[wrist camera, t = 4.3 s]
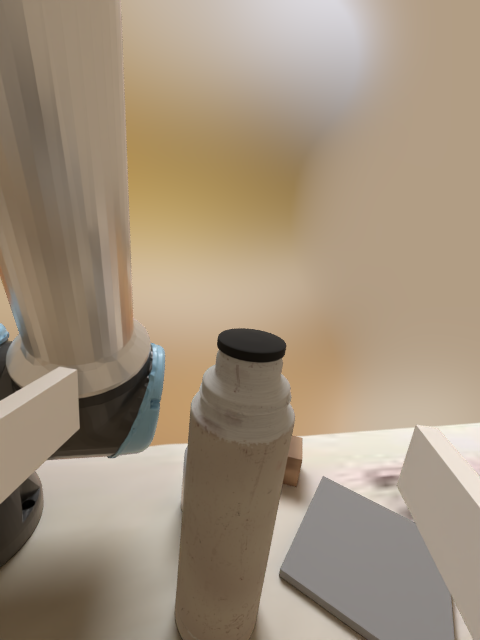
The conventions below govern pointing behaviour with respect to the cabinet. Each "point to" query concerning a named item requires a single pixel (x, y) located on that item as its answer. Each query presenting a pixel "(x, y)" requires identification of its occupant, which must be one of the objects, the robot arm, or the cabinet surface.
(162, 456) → the cabinet surface
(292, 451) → the walnut block
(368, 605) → the gray mat
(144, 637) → the cabinet surface
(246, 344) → the thermos bottle
